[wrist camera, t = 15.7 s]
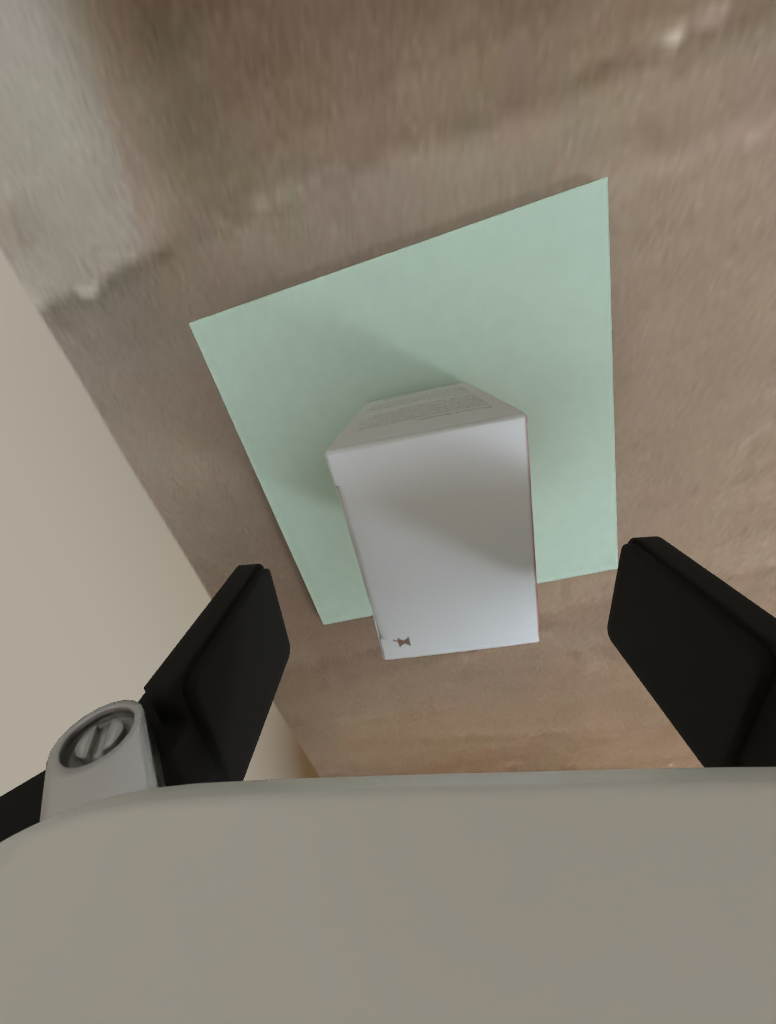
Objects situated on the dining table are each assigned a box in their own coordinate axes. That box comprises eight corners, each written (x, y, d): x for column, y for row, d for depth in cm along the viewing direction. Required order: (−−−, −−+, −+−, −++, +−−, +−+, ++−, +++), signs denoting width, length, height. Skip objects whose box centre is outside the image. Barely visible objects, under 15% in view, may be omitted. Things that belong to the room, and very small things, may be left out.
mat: (325, 619, 26) (323, 625, 26) (194, 323, 19) (188, 323, 18) (613, 563, 23) (618, 568, 23) (600, 181, 16) (608, 175, 15)
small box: (483, 516, 22) (544, 648, 12) (392, 531, 22) (382, 668, 13) (468, 377, 19) (534, 409, 9) (362, 400, 19) (320, 452, 10)
